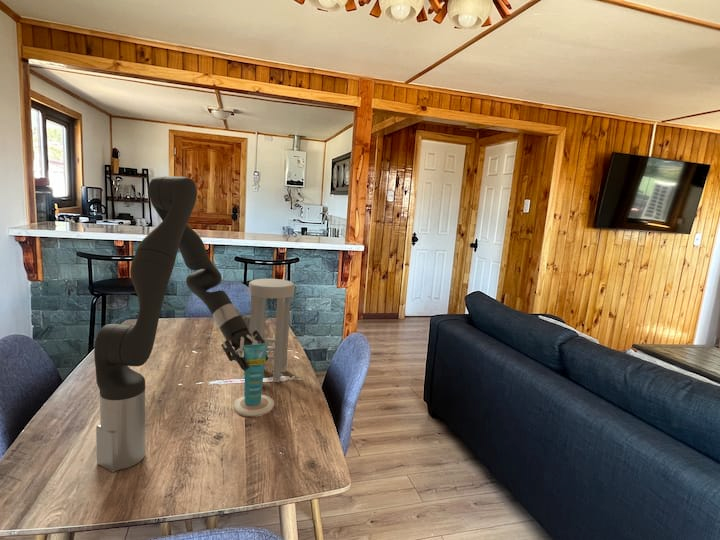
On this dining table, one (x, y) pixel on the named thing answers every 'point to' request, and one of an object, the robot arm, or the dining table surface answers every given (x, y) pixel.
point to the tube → (254, 372)
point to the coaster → (256, 410)
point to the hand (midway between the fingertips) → (256, 365)
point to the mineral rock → (246, 320)
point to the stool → (283, 293)
